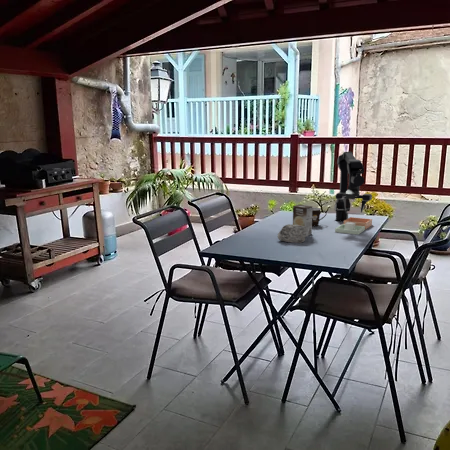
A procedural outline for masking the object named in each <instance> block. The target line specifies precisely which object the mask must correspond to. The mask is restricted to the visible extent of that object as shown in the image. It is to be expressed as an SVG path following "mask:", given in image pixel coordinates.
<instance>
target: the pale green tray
mask: <svg viewBox="0 0 450 450" xmlns="http://www.w3.org/2000/svg"><path fill="white" fill-rule="evenodd" d="M365 230H366V229H365V227H364V226H355V230H347V229H345V224H344V223H342V224H340V225H339V226H336V227H335V229H334V232H335V233H340V234H350V235H360V234H361V233H363V232H364V231H365Z"/></svg>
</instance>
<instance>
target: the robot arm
mask: <svg viewBox="0 0 450 450" xmlns="http://www.w3.org/2000/svg"><path fill="white" fill-rule="evenodd" d="M336 164H337V167H338V169H339V171H340V172H339V173H340V176H339V192H337V193H336V194H335V199H336V201H335V203H334V206H333V207H334V209H333V210H334V212H335V219H334V221H336V222H343V223H344V221H345V220H346V219H348V218H349V213H348V212H350V211H351V205H352V204H351V202H350V200H355V199H362V200H361V204H360V205H361V206H360V213H363V211H364V208H365V206H366V204H367V202H370V201H372V198H373V195H372V194H371V193H364V194H360V188H361V186H363V185H364V184H365V177H363V176H362V175H364V173H365V169H364V164H363V162H362V161H361V160H359V159H356V157H355V156H354V154H353V152H352V151H344V152H342V154H340V155H339V156H338V157H337V161H336Z"/></svg>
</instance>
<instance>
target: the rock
mask: <svg viewBox="0 0 450 450" xmlns="http://www.w3.org/2000/svg"><path fill="white" fill-rule="evenodd" d="M307 228H308V227H307V226H301V225H294V224H293V223H292V224H285V225H283V226H282V228H281V229H280V231H278V233H277V239H278V240H279V241H281V242H287V243H296V244H297V243H300V244H301V243H303V242H305V240H306V237H305V236H306V230H307Z"/></svg>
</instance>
